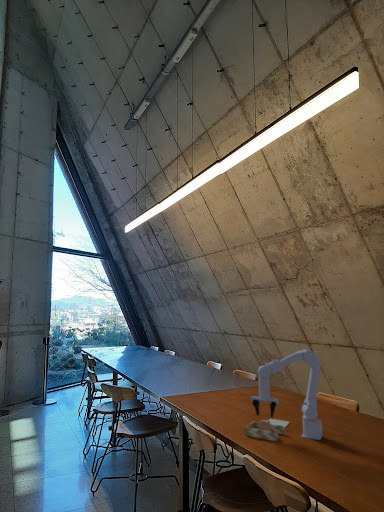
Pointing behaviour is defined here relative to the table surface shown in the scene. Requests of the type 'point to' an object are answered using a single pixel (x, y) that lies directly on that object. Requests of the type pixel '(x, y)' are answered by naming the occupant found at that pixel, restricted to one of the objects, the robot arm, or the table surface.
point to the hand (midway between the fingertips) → (264, 416)
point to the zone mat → (279, 422)
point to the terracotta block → (265, 425)
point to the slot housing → (263, 431)
